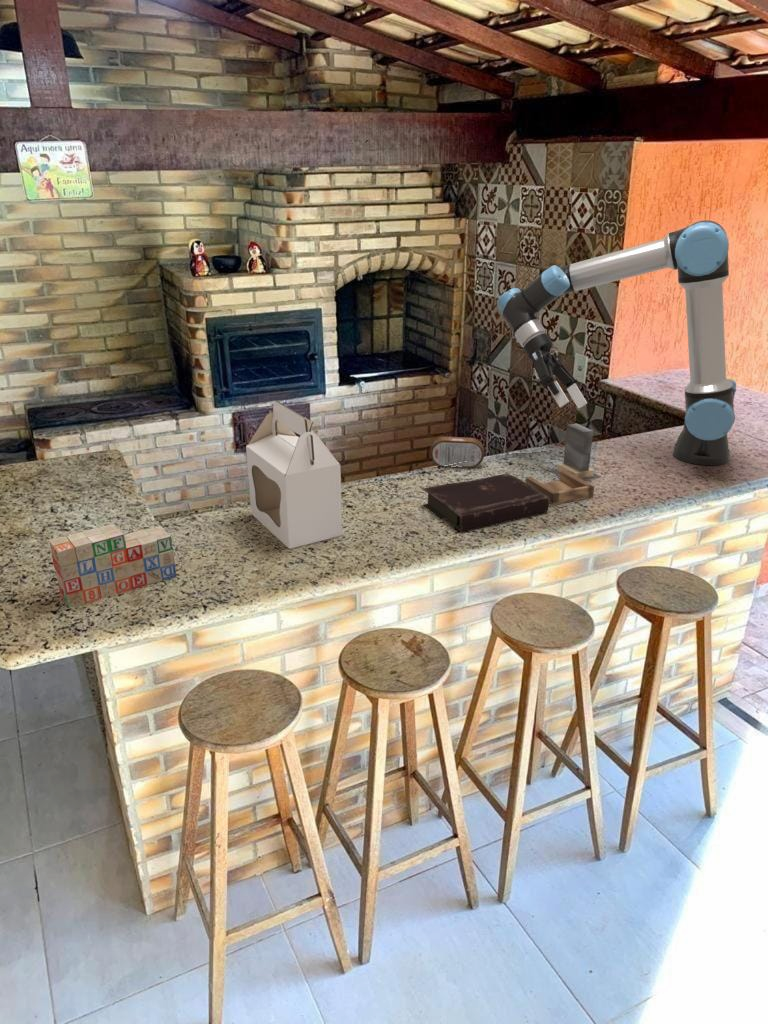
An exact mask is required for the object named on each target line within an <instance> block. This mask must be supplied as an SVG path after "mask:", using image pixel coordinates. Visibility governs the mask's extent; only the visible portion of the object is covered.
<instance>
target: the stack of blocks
mask: <svg viewBox="0 0 768 1024" xmlns="http://www.w3.org/2000/svg"><path fill="white" fill-rule="evenodd" d="M172 541H173V539H172V535H170V534H169V533H168V532H167V530H164V528H163V527H162V526H160V525H159V526H154V527H151V528H147V529H142V530H139V531H135V532H131V533H126V534H124V532H123V531H121V529H119V528H118V527H117V526H116V525H115V524H114V523H111V524H107V525H103V526H99V527H96V528H91V529H86V530H84V531H81V532H80V531H79V532H76V533H73V534H69V535H66V536H65V535H64V536H60V537H56V538H52V539H49V545H50V551H51V559H52V563H53V567H54V571H55V575H56V579H57V586H58V588H59V589H58V590H59V595H60V594H61V595H60V597H61V598H62V597H63V598H62V599H64V600H63V602H64V603H65V604H66V605H68V606H67V607H68V608H69V609H71V607H72V608H74V607H78V606H81V604H82V605H85V604H89V603H92V602H95V601H99V599H100V600H102V599H101V598H103V599H106V597H107V598H110V597H113V596H112V595H114V596H116V594H117V595H118V594H119V595H120V594H122V593H126V592H129V591H132V590H135V589H138V588H139V589H140V588H142V587H144V586H145V587H146V586H150V585H152V584H155V583H159V582H161V581H165V580H166V581H167V580H170V579H172V578H175V577H177V570H176V562H175V553H174V546H173V542H172ZM109 596H110V597H109Z"/></svg>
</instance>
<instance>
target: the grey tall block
mask: <svg viewBox="0 0 768 1024" xmlns="http://www.w3.org/2000/svg"><path fill="white" fill-rule="evenodd" d="M593 436H594V430H592V429H590V428H588V427H585V426H583V425H581V424H579V423H572V424H567V425H566V436H565V445H564V454H563V462H559V463H557V467H556V469H557V471H559V472H560V471H567V472H569V473H570V474H572V475H574V476H576V477H578V478H580V479H586V478H591V477H594V473H595V469H593V468H592V467H590V463H591V462H590V461H591V454H592V453H591V451H592V443H593Z"/></svg>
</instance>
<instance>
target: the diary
mask: <svg viewBox="0 0 768 1024" xmlns="http://www.w3.org/2000/svg"><path fill="white" fill-rule="evenodd" d="M422 490H423V491H424V492H425V493H427V503H425V504H422V506H423V507H424V508H426V509H427V510H428V509H429V510H428V511H430V512H431V513H433V514H434V515H435V516H437V517H438V518H440V519H442V520H443V519H446V521H449V522H450V523H451V524H452V525H454V526H455V529H459V533H464V532H468V531H471V529H472V530H474V529H475V528H476V529H479V527H480V528H484V527H487V526H492V525H491V524H493V525H497V524H496V523H498V524H501V523H500V522H502V523H505V521H507V522H509V520H511V521H514V520H513V519H515V520H518V518H519V519H522V517H523V518H526V517H531V515H532V516H537V515H540V514H545V513H546V514H547V513H548V511H549V507H550V503H549V497H548V496H546V495H545V494H543V493H541V492H539V491H538V490H536V489H534V488H533V487H531V486H530V485H528V484H527V483H526V481H523V480H521V479H520V478H518V477H517V476H514V475H512V474H510V473H503V474H502V473H501V474H499V475H498V474H497V475H492V476H487V477H483V478H478V479H474V480H473V479H472V480H469V481H468V480H467V481H460V482H459V481H458V482H451V483H444V484H439V485H433V486H430V487H426V488H425V487H423V488H422ZM483 526H484V527H483Z"/></svg>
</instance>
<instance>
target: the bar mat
mask: <svg viewBox="0 0 768 1024" xmlns="http://www.w3.org/2000/svg"><path fill="white" fill-rule="evenodd" d="M548 471H549V473H550V472H551V473H553V474H555V475H556V476H558V477H559V476H560V472H559V471H557V468H555V469H550V470H548ZM599 478H602V476H601V475H598V474H597V473H595V472H594V477H591V478H586V479H582V480H583V481H585V482H586V481H590V480H595V479H599Z"/></svg>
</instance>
